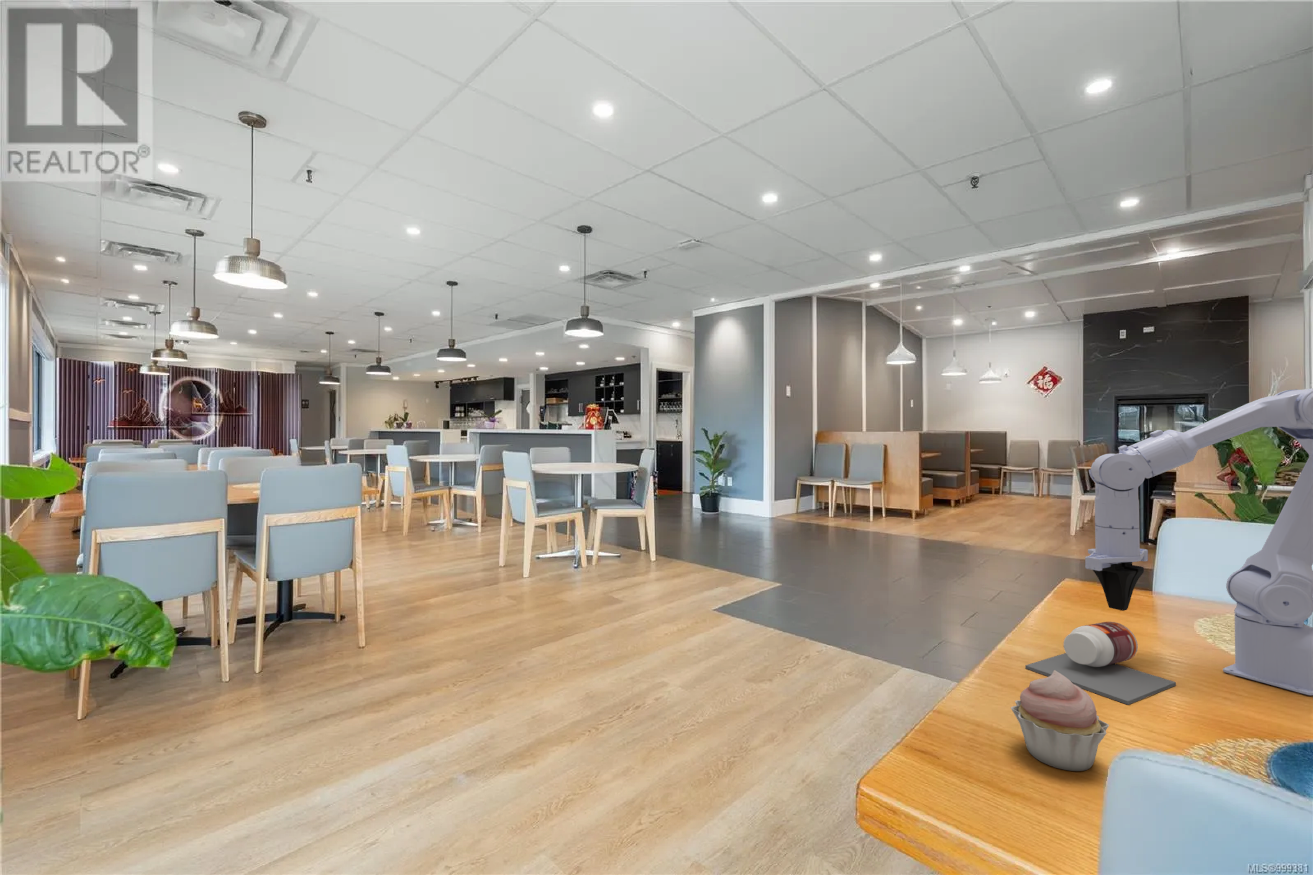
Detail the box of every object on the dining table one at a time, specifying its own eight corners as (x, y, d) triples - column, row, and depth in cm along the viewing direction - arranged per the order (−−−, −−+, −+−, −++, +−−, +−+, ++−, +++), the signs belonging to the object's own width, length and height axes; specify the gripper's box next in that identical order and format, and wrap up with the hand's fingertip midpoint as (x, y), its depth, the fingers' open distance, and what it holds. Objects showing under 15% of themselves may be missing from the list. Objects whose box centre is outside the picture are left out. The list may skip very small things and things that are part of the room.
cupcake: (1067, 734, 72) (1065, 654, 72) (1131, 778, 62) (1129, 687, 62) (994, 737, 72) (993, 657, 71) (1048, 782, 62) (1046, 690, 62)
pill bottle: (1132, 620, 92) (1096, 628, 87) (1144, 661, 90) (1108, 671, 85) (1090, 620, 97) (1053, 627, 92) (1100, 659, 96) (1064, 668, 90)
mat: (1175, 685, 85) (1175, 682, 85) (1128, 704, 79) (1128, 701, 79) (1072, 653, 97) (1072, 650, 97) (1025, 668, 92) (1025, 665, 92)
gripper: (1113, 519, 101) (1114, 596, 101) (1064, 526, 95) (1065, 608, 95) (1162, 525, 95) (1163, 607, 95) (1113, 533, 88) (1114, 620, 88)
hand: (1118, 608), depth 94 cm, fingers closed
